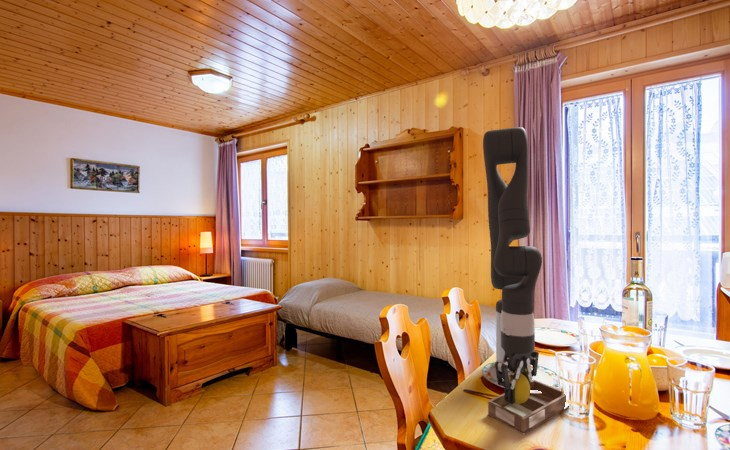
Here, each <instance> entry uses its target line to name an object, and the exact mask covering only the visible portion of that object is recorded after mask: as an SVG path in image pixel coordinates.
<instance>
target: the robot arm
mask: <svg viewBox="0 0 730 450" xmlns="http://www.w3.org/2000/svg"><path fill="white" fill-rule="evenodd" d="M528 138H529V137H528V134H527V131H526V129H525V128H524V127H522V126H518V127H517V126H514V127H508V128H499V129H492V130H487V131H486V132H485V133H484V134H483V139H482V152H483V159H484V160H483V161H484V168H485V169H484V170H485V174H486V175H485V177H486V187H487V217H488V228H489V229H488V230H489V239H490V241H489V242H490V282H491V285H492V287H493V288H494V289H496V290H501V298H500V299H499V300H497V301H496V303H495V360H496V361H495V363H494V366H495V374H496V381H497V385H498V386H500V387H502V388H504V389H503V390H504V391H503V392H504V393H503V394H504V395H505V396H504V398H505V401H506V402H508V403H510V404H513V403H515V389H514V386H515V382H516V380H518V378H519V374H520V373H521V374H523V375H524V376H525V377H526V378H527V379H528V381H529V385H530V390H531V380H533V377H536V376H537V374H538V364H539V352H538V351H537V350H535V348H536V345H535V344H536V342H535V337H536V336H535V335H536V334H535V333H536V331H535V328H536V325H535V324H536V323H535V315H534V298H535V297H534V294H535V289H536V285H537V281H538V278H539V275H540V273H541V268H542V264H543V257H542V254H541V252H540V250H539V249H538V248H537V247H536V246H533V245H532V246H531V245H527V246H526V245H521V246H520V245H516V246H514V245H513V246H512V245H511V244H512V242H514V241H515V240H516V241H517V240H521V239H524V238H526V237H528V236H529V235H530V232H531V224H530V223H531V222H530V215H529V206H528V205H529V203H528V202H529V201H528V191H529V139H528ZM506 164H507V165H509V164H515V169H514V173H513V175H512V177H511V179H510V181H509V183H508V184H506V182H505V181H504V178H502V175H501V174H500V171H499V169H498V166H499V165H506ZM510 372H511V373H510ZM512 373H515V374H514V375H513V374H512ZM509 377H511V382H509Z"/></svg>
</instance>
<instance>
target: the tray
mask: <svg viewBox="0 0 730 450" xmlns="http://www.w3.org/2000/svg"><path fill="white" fill-rule="evenodd" d="M531 390H538V391H541V392H542V394H530V396H529V398H528V400H527V401H526V402H524V403H520V404H519V405H517V404H516V403H513V404H510V403H508V402H506V401H505V398H504V396H505V395H504V393H502V394H500V395H498V396H496V397H495V396H494V397H493V398H491V399H489V400H487V414H488V416H490V417H491V418H492V419H493V418H494V419H495V420H497V421H498V422H501V423H503V424H504V425H506V426H508V427H509V428H511V429H513V430H515V431H517V432H519V433H520V434H523V435H525V434H527V433H529V432H530V431H532V430H534V429H536V428H537V427H540V425H542V424H543V423H546V422H547V421H549V420H551V419H553V418H554V417H555V416H557V415H559V414H561V413H562V412H564V411H565V410H564V407H565V402H566V395H565V394H564V395H562V396H561V391H562V390H561V389H558V388H555V387H553V386H551V385H548V384H546V383H543V382H541V381H538V380H536V379H533V378H532V380H531ZM560 390H561V391H560ZM563 410H564V411H563Z"/></svg>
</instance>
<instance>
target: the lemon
mask: <svg viewBox="0 0 730 450" xmlns="http://www.w3.org/2000/svg"><path fill="white" fill-rule="evenodd" d="M511 374H513V375H514V374H515V373H513V372H511ZM509 382H511V377H509ZM514 389H515V403H516V404H517V405H519V404H520V403H524V402H526V401H527V400H528V398H529V396H530V385H529V381H528V379H527V378H526V377H525V376H524V375H523V374H521V373H520V374H519V378H518V380H516V382H515V386H514Z"/></svg>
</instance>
